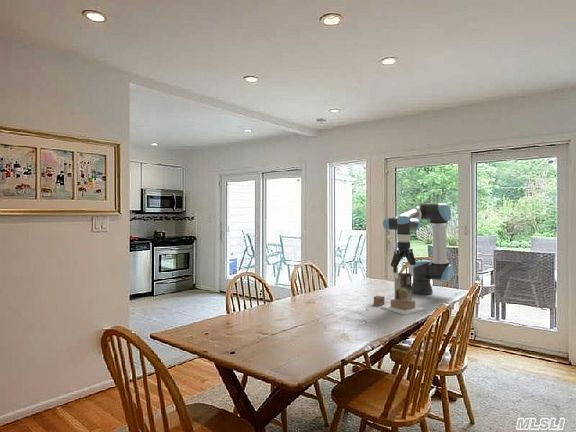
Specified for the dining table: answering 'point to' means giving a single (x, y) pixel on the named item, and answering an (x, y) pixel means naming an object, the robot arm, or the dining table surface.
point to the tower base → (417, 309)
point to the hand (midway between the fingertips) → (403, 276)
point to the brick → (379, 300)
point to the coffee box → (403, 287)
